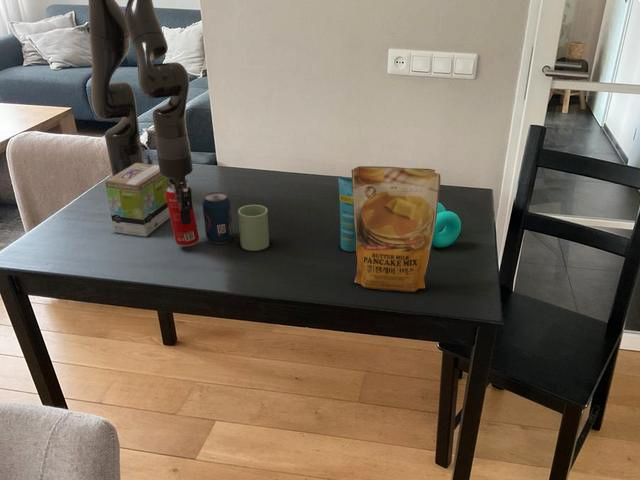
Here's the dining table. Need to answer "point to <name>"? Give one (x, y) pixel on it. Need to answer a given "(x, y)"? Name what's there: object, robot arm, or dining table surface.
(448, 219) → the donuts
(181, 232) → the beverage can
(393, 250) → the pancake mix bag
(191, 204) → the robot arm
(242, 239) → the tumbler
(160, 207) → the tea box
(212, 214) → the soda can
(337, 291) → the dining table surface
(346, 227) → the tube
